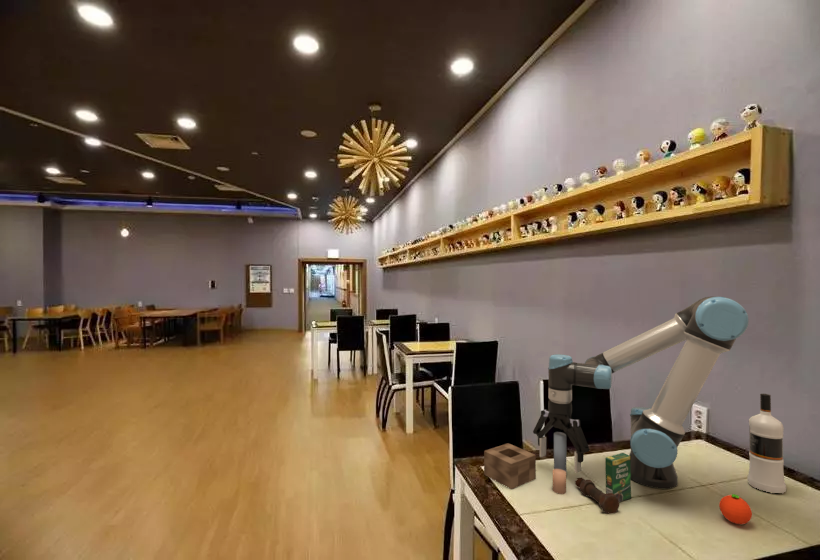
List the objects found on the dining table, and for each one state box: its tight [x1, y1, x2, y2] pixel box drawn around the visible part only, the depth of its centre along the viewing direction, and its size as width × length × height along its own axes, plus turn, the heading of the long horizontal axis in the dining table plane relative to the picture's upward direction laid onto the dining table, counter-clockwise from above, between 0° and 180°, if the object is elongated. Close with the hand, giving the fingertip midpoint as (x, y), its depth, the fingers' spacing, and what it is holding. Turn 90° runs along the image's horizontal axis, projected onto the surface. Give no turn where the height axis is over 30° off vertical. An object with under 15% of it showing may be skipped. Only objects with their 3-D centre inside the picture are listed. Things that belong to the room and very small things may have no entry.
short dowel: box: [552, 468, 567, 495], centre depth 124 cm, size 4×4×6 cm
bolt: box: [574, 477, 620, 515], centre depth 119 cm, size 6×5×15 cm
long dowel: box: [553, 431, 567, 472], centre depth 134 cm, size 4×4×14 cm
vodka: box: [746, 393, 787, 494], centre depth 127 cm, size 9×9×30 cm
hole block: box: [483, 442, 537, 490], centre depth 133 cm, size 12×12×8 cm
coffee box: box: [604, 452, 632, 503], centre depth 119 cm, size 8×3×13 cm, turn 113°
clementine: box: [718, 493, 753, 525], centre depth 108 cm, size 8×7×7 cm
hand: (559, 463), depth 134 cm, fingers open, 13 cm apart
